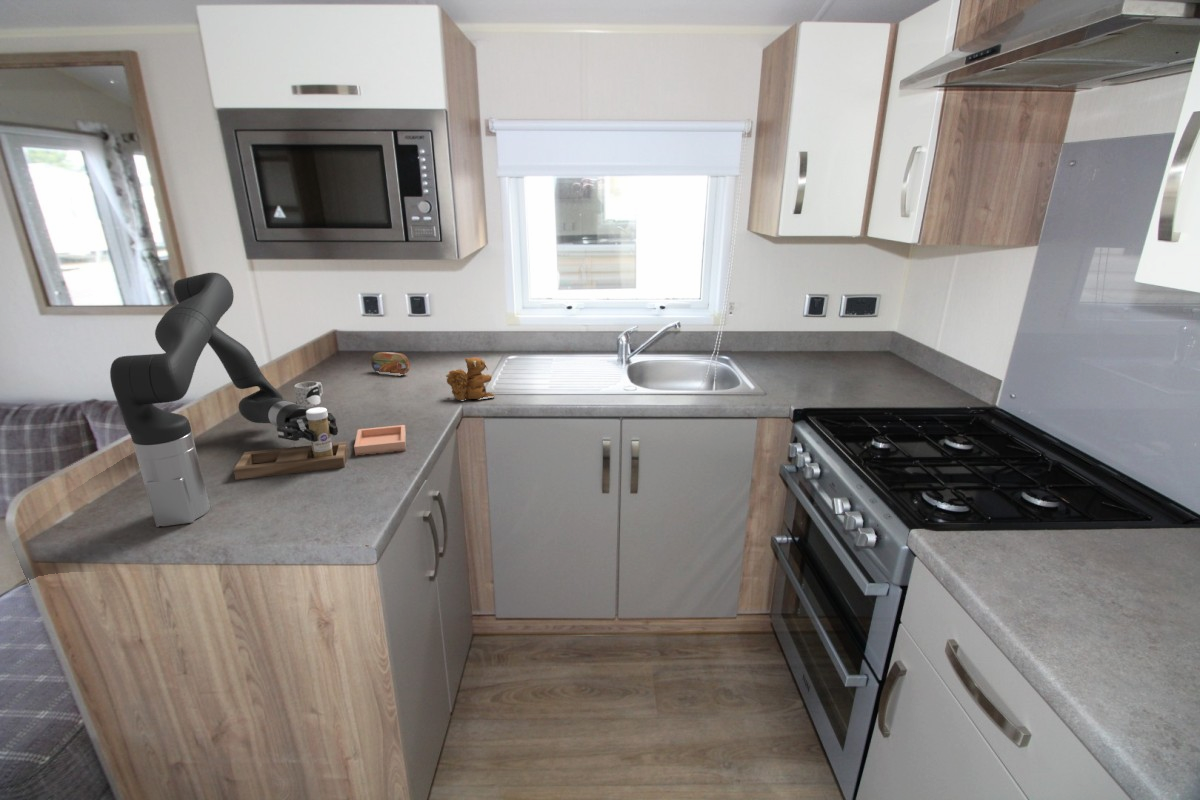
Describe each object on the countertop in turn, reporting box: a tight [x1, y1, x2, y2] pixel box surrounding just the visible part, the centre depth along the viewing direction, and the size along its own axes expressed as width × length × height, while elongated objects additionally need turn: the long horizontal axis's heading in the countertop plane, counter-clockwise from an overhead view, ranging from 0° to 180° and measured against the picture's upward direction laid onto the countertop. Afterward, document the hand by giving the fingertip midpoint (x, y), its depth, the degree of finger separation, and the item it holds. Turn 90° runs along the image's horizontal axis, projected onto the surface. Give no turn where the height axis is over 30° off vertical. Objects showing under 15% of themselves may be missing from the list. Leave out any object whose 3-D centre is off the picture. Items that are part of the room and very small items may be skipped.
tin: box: [370, 351, 411, 375], centre depth 208 cm, size 15×3×8 cm, turn 73°
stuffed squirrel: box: [445, 356, 495, 401], centre depth 184 cm, size 10×14×13 cm
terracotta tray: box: [353, 424, 407, 457], centre depth 149 cm, size 12×12×2 cm
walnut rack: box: [233, 441, 349, 480], centre depth 137 cm, size 10×23×2 cm, turn 108°
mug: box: [293, 380, 324, 409], centre depth 178 cm, size 10×7×7 cm, turn 168°
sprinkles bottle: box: [306, 406, 334, 458], centre depth 137 cm, size 5×5×13 cm
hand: (325, 434), depth 135 cm, fingers closed on sprinkles bottle, 4 cm apart
